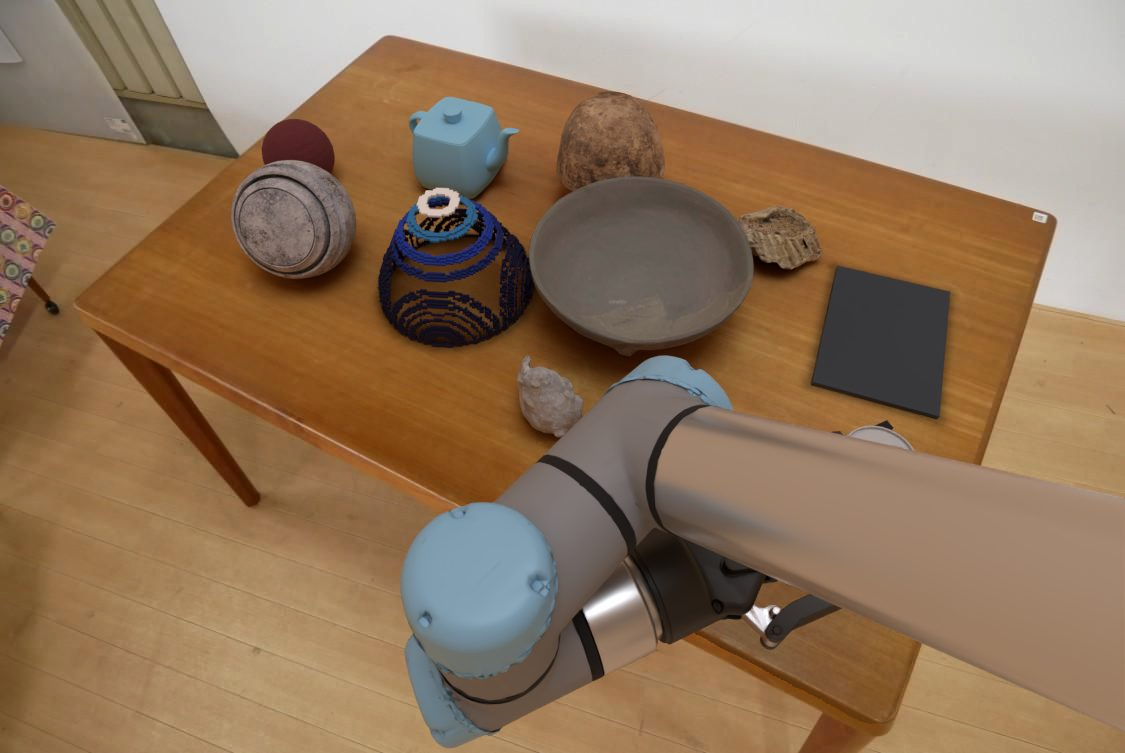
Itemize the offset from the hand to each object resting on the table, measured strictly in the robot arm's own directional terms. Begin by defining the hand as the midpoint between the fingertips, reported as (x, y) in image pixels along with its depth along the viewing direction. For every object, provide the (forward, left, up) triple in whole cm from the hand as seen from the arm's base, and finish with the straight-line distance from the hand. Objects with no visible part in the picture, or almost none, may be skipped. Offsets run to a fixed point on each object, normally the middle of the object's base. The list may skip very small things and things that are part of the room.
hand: (911, 466), depth 52 cm
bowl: (+26, +29, -21) cm, 44 cm away
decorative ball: (+33, +83, -21) cm, 91 cm away
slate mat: (+31, -1, -20) cm, 37 cm away
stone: (+6, +33, -21) cm, 39 cm away
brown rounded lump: (+45, +39, -21) cm, 63 cm away
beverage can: (-4, +4, -7) cm, 9 cm away
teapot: (+42, +60, -21) cm, 76 cm away
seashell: (+41, +14, -21) cm, 48 cm away
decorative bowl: (+21, +52, -21) cm, 59 cm away
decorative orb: (+19, +73, -21) cm, 78 cm away
